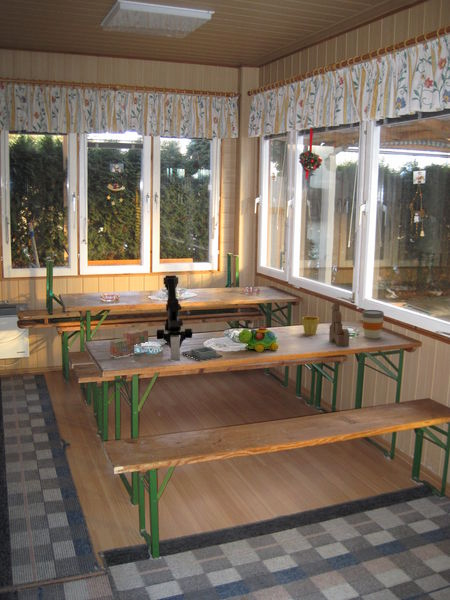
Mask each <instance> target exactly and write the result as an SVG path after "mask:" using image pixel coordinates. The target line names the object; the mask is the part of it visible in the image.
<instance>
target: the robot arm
mask: <svg viewBox="0 0 450 600" xmlns="http://www.w3.org/2000/svg"><path fill="white" fill-rule="evenodd" d="M163 285H164V288H165V289H166V291H167V299H166V303H165V311H166V312H167V314H168V315H167V318H166V320H165V323H164V329H157V330H156V339H157V340H163V341H165V343H166V342H167V344H166V345H168V347H169V349H171V340H170V335H179V337H180V348H181V347H182V344H183V342H184V340H186V339H192V338H193V329H192V328H184V331H183V330H182V327H183V326H184V323H183V322H184V319H182V318H181V319H180V316H179V315H180V311H181V310H183V309H182V308H183V307H182V306H181V303H180V302H179V299H178V298H177V293H176V292H177V290H176V289H177V287H178V285H179V277H178V276H177V275H176V274H175V275H171V274H170V275H165V277H163Z"/></svg>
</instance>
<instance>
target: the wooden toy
mask: <svg viewBox="0 0 450 600" xmlns="http://www.w3.org/2000/svg"><path fill="white" fill-rule="evenodd" d="M340 302H341V301H340V300H334V303H333V305H332V306H331V310H332V312H331V316H332V317H331V324H330V325H329V333H328V335H329V336H328V341H329V342H330V343H335V345H336V346H337V347H339V348H340V347H350V331H349V329H348V328H347V327H343V322H342V312H341V310H340V304H341V303H340Z"/></svg>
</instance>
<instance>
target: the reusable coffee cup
mask: <svg viewBox="0 0 450 600" xmlns="http://www.w3.org/2000/svg"><path fill="white" fill-rule="evenodd" d="M384 313H385V312H384V311H382V310H378V309H366V310H362V315H361V316H362V329H363V335H364V338H368V339H379V338H380V337H381V333H382V330H383V325H384Z"/></svg>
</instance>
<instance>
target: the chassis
mask: <svg viewBox="0 0 450 600" xmlns="http://www.w3.org/2000/svg"><path fill="white" fill-rule="evenodd" d="M182 353H183V354H182ZM181 354H182V355H184V354H185V355H184V356H186V355H188V356H190V357H189V358H191V357H193V358H195V359H194V360H196V359H198V360H204V361H207V360H206V359H209V360H212V359H211V358H215V359H217V358H216V357H220V358H222V357H223V354H220V353H218V352H217V349H213V348H212V347H208V346H203V347H202V346H201V347H198V348H192V349H191V350H187V351H186V350H185V351H182V352H181ZM188 356H187V357H188ZM221 356H222V357H221ZM193 358H192V359H193ZM198 360H197V361H198Z"/></svg>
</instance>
